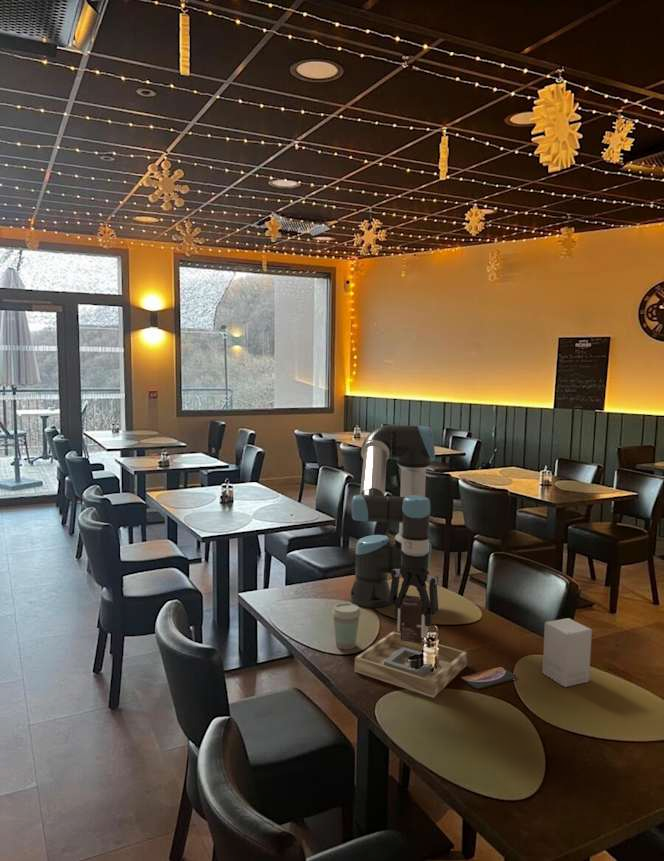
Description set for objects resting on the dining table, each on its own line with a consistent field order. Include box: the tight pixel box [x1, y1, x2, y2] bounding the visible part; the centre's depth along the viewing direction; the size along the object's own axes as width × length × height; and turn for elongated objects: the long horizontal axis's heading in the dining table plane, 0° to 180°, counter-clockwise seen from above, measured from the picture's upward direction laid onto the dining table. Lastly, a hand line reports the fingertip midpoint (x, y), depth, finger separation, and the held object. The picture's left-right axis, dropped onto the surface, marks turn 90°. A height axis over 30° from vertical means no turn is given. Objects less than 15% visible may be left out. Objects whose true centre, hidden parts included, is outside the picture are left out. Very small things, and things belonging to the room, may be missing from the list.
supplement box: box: [542, 617, 593, 688], centre depth 176 cm, size 9×9×15 cm
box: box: [400, 594, 424, 643], centre depth 178 cm, size 6×4×12 cm
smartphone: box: [460, 666, 519, 691], centre depth 175 cm, size 8×1×15 cm
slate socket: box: [384, 647, 439, 678], centre depth 180 cm, size 12×12×2 cm
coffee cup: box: [331, 602, 361, 651], centre depth 193 cm, size 8×8×12 cm
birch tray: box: [354, 630, 468, 699], centre depth 180 cm, size 22×24×4 cm
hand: (412, 632), depth 179 cm, fingers closed on box, 7 cm apart
